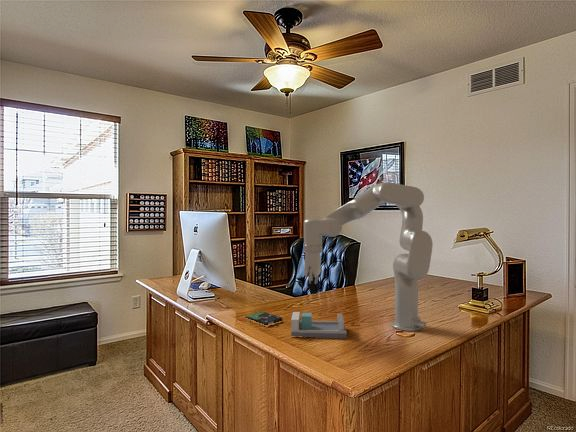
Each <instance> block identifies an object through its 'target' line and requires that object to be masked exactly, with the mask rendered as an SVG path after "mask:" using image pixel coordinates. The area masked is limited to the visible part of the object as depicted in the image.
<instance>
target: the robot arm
mask: <svg viewBox="0 0 576 432" xmlns="http://www.w3.org/2000/svg"><path fill="white" fill-rule="evenodd" d="M424 201H425V194H424V192H423V191H422V190H421V189H420V188H418V187H416V186H411V185H406V184H405V185H404V184H401V183H394V182H388V181H386V182H380V183H376V184H374V185H373V186H371V187H369V188H368V189H367V190H365V191H364V192H362V193H361V194H359V195H357V196H356V197H355V198H353V199H352V200H350V201H348V202H346V203H345V204H344V205H342V206H340V207H339V208H336V209H335V210H333V211H331V212H330V213H329V214H327V215H325V216H324V217H323V218H322V219H319V218H307V219H304V221H303V253H304V255H305V256H304V277H306V278H307V277H308V282H309V294H318V293H319V275H321V271H322V269H321V268H322V267H321V266H322V263H321V262H322V261H321V253H323V237H330V238H331V237H332V238H333V237H337V236H339V235H340V234H341V232H342V229H343V226H345V224H347V223H349V222H351V221H356V220H359V219H361V218H364V217H365V216H367V215H368V214H370V213H371V212H373V211H375V210H376V209H377V208H378V207H380V206H381V205H383V204H386V203H387V204H392V205H395V206H396V207H397V208H398V209H399V210H400V212H401V216H402V219H401V220H402V221H401V227H400V229H401V230H400V234H399V235H400V236H399V245H400V247H401V248H402V249H403V250H405V251H407V252H408V253H401V254H398V255H397V256H396V257H394V260H393V262H392V269H393V275H394V310H395V311H394V316H395V317H394V320H392V321H391V325H390V326H391V327H393V329H396V330H400V331H406V332H414V331H415V332H416V331H420V330H422V329H423V328H424V329H426V328H427V322H426V321H424V320H421V317H420V316H419V280H423V279H425V277H426V276H427V275H428V274H429V270H430V267H431V260H432V259H431V258H432V252H433V240H432V236H431V235H430V234H429V233H428V232H427V231H425V230H423V223H424V215H423V214H424V213H423V210H422V208H421V205H423V202H424Z"/></svg>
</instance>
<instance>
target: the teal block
mask: <svg viewBox="0 0 576 432" xmlns="http://www.w3.org/2000/svg"><path fill="white" fill-rule="evenodd" d="M312 315H313V314H312V312H302V313H301V321H302V330H312V321H313V320H312Z"/></svg>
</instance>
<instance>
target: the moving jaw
mask: <svg viewBox="0 0 576 432" xmlns="http://www.w3.org/2000/svg"><path fill="white" fill-rule="evenodd" d="M336 315H337V316H336V317H337V319H336V321H337V325H338V331H344V325H345V321H344V320H345V319H344V317H343V313H336Z"/></svg>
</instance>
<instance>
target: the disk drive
mask: <svg viewBox="0 0 576 432" xmlns="http://www.w3.org/2000/svg"><path fill="white" fill-rule="evenodd" d="M245 318H248V319H251V320H254V321H256V322H259V323H262V324H264V325H268V324H272V323H276V322H279V321H282V322H283V317H281V316H278V315H274V314H272V313H268V312H265V311H258V312H254V313H252V314H248V315H245V317H244V319H245Z"/></svg>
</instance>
